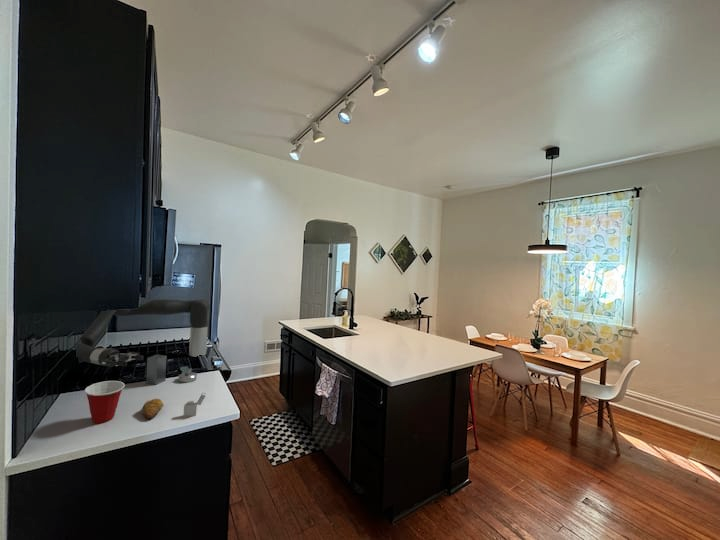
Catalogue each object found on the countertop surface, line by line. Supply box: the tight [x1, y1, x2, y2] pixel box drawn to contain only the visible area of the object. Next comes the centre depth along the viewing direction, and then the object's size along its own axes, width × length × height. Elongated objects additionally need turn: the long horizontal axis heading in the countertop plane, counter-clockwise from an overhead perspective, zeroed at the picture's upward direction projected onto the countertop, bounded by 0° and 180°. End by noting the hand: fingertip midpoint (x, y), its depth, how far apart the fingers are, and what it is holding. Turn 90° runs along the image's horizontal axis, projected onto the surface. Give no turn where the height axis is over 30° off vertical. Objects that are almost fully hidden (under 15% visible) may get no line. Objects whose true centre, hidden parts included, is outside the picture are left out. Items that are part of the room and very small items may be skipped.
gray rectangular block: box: [145, 354, 168, 386], centre depth 136 cm, size 5×5×12 cm
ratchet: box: [178, 365, 198, 384], centre depth 146 cm, size 19×8×5 cm, turn 37°
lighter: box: [182, 392, 207, 418], centre depth 111 cm, size 7×2×8 cm, turn 114°
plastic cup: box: [84, 380, 126, 425], centre depth 104 cm, size 11×11×12 cm
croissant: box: [141, 398, 164, 420], centre depth 111 cm, size 14×7×5 cm, turn 26°
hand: (134, 360), depth 138 cm, fingers open, 8 cm apart
